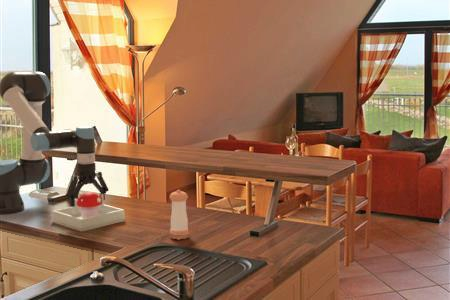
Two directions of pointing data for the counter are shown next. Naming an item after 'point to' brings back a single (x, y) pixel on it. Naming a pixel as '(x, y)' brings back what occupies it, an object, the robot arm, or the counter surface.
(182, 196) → the pepper shaker
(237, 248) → the counter surface
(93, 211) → the mushroom
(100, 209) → the tub
